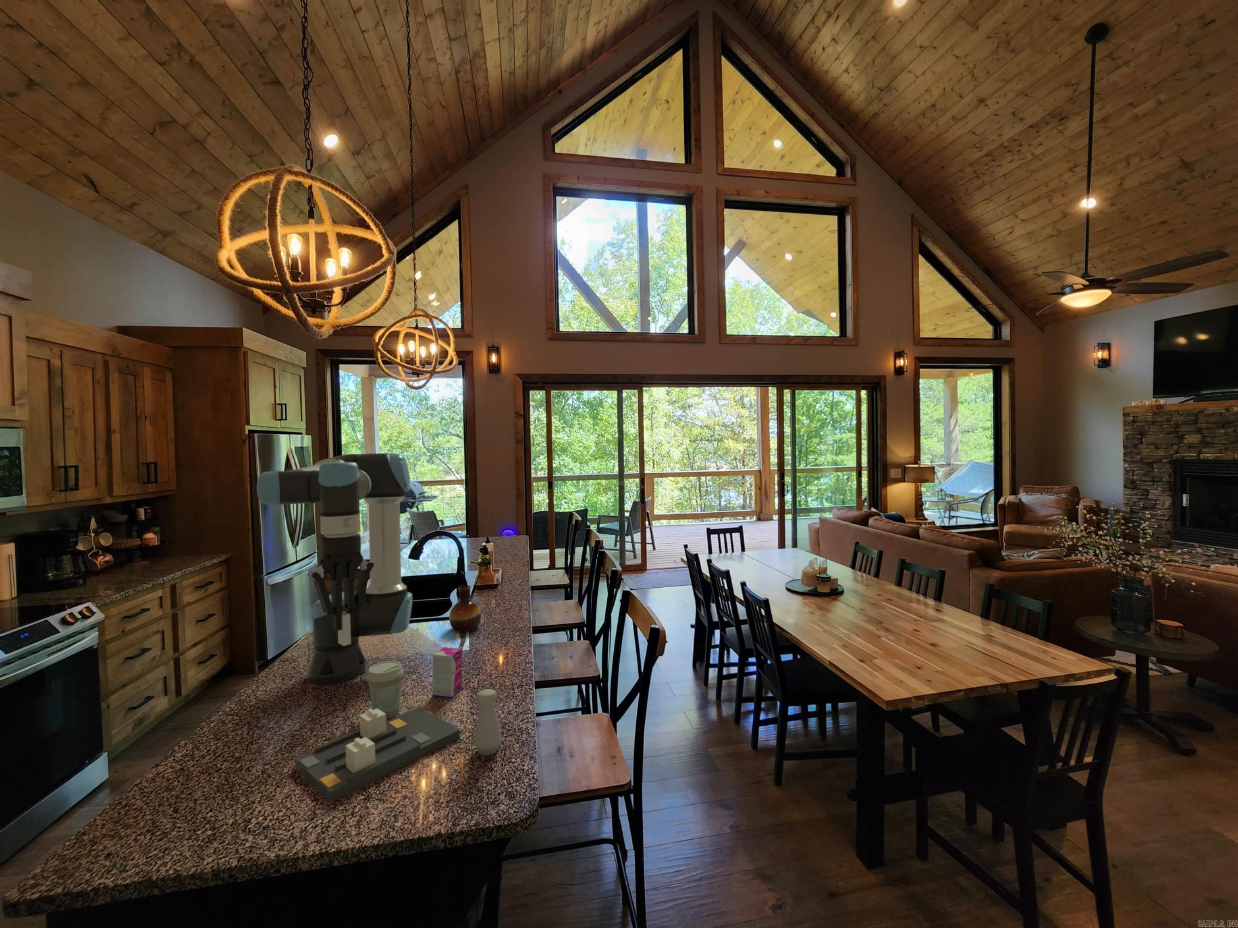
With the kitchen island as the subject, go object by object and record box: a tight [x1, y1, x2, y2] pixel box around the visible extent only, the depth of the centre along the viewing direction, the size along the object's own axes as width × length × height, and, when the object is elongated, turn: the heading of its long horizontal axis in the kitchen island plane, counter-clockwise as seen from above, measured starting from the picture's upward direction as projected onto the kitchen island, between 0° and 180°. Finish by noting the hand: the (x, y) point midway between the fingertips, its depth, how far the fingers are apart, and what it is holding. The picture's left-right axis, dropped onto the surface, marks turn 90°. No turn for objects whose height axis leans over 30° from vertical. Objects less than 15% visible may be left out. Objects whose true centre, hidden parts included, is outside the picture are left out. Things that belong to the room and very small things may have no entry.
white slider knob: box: [359, 708, 387, 739], centre depth 120 cm, size 4×4×5 cm
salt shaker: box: [473, 688, 502, 757], centre depth 116 cm, size 6×6×13 cm
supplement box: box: [432, 646, 463, 699], centre depth 144 cm, size 6×6×12 cm
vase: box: [448, 585, 482, 633], centre depth 195 cm, size 11×11×15 cm
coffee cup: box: [365, 660, 405, 721], centre depth 133 cm, size 8×8×12 cm
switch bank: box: [294, 706, 461, 804], centre depth 116 cm, size 17×28×3 cm, turn 140°
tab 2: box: [346, 737, 375, 773], centre depth 108 cm, size 4×4×5 cm
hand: (344, 643), depth 115 cm, fingers closed
